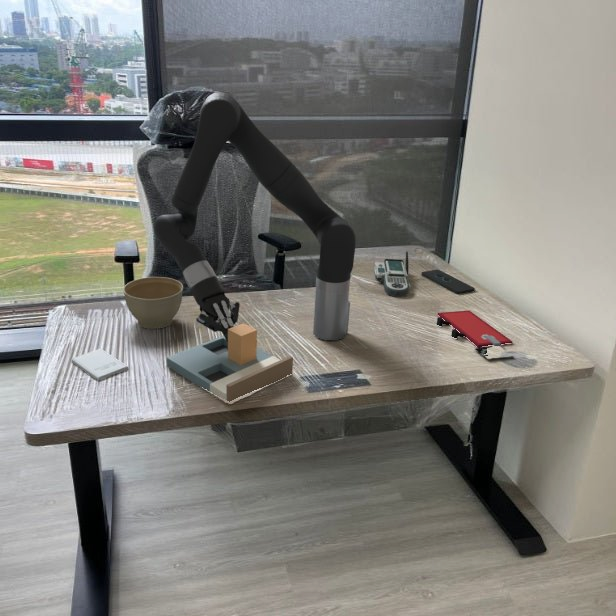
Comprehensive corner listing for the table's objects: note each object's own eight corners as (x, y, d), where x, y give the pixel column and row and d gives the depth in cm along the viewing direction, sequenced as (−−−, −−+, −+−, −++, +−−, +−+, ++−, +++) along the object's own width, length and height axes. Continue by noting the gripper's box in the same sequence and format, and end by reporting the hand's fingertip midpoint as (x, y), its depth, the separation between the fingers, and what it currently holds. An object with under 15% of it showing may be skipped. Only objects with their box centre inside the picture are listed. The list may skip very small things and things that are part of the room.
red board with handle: (480, 363, 158) (528, 358, 163) (482, 354, 157) (530, 349, 162) (426, 317, 184) (468, 314, 189) (427, 309, 183) (470, 306, 188)
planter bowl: (114, 329, 166) (111, 293, 162) (145, 307, 180) (143, 273, 176) (166, 339, 162) (164, 302, 158) (194, 316, 176) (193, 281, 172)
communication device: (376, 297, 197) (379, 272, 193) (372, 271, 219) (374, 248, 215) (413, 299, 197) (416, 274, 193) (405, 273, 218) (408, 250, 215)
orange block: (243, 351, 152) (243, 323, 149) (256, 358, 149) (256, 330, 146) (227, 357, 149) (227, 329, 146) (241, 365, 146) (241, 336, 143)
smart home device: (438, 268, 220) (476, 288, 204) (437, 273, 221) (475, 292, 205) (420, 271, 216) (457, 291, 201) (419, 276, 217) (456, 296, 201)
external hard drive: (101, 353, 154) (128, 371, 147) (71, 364, 149) (98, 383, 141) (101, 348, 154) (128, 365, 146) (71, 358, 148) (97, 377, 141)
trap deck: (229, 341, 162) (229, 324, 160) (292, 375, 148) (293, 357, 146) (167, 366, 149) (166, 348, 147) (229, 405, 134) (229, 386, 132)
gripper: (187, 282, 145) (220, 344, 143) (229, 269, 154) (261, 328, 151) (175, 295, 150) (206, 356, 148) (217, 283, 159) (247, 340, 157)
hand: (234, 342), depth 150 cm, fingers closed
